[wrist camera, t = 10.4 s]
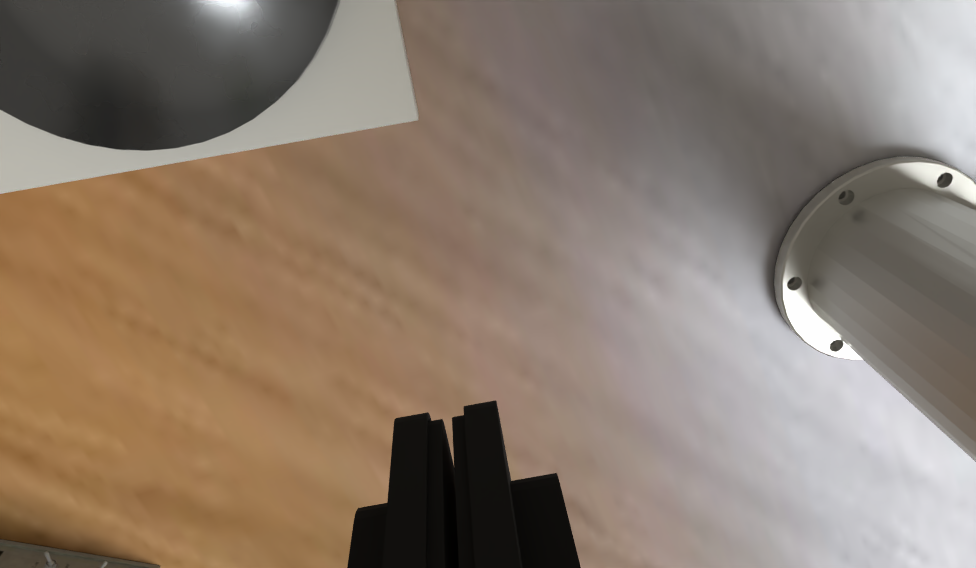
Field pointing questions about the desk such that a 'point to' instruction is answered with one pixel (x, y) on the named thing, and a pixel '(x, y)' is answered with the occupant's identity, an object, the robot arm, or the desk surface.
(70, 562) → the geiger counter
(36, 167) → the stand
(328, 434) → the desk surface
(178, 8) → the dial
